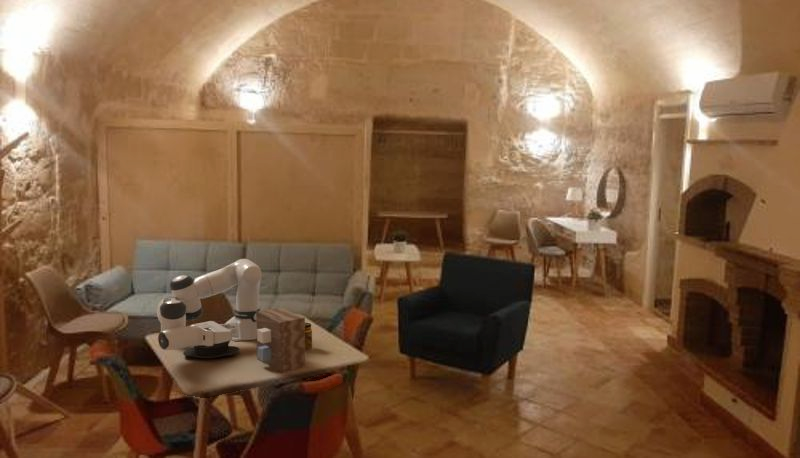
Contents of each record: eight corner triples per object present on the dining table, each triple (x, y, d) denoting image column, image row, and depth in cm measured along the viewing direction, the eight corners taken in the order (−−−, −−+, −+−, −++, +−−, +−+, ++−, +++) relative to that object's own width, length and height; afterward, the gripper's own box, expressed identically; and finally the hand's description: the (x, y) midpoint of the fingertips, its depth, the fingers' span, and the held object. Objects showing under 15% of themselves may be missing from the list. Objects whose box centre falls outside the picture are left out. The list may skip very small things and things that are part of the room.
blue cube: (263, 361, 271) (262, 350, 270) (257, 358, 274) (257, 347, 274) (273, 358, 274) (273, 347, 273) (268, 355, 278) (267, 345, 277)
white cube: (262, 343, 270) (262, 332, 269) (257, 340, 273) (257, 329, 273) (273, 341, 273) (272, 330, 272) (267, 338, 277) (267, 327, 276)
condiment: (315, 349, 299) (315, 324, 297) (298, 352, 294) (298, 327, 292) (308, 345, 305) (308, 321, 303) (292, 348, 300) (292, 323, 298)
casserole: (178, 362, 279) (177, 344, 277) (189, 349, 297) (188, 332, 296) (235, 361, 280) (234, 343, 279) (242, 348, 299) (242, 331, 298)
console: (280, 372, 267) (280, 322, 264) (257, 358, 284) (256, 311, 281) (305, 366, 275) (304, 317, 272) (280, 353, 291) (280, 307, 289)
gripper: (191, 335, 262) (223, 329, 271) (211, 347, 247) (243, 340, 255) (191, 320, 262) (222, 315, 270) (210, 332, 246) (243, 325, 255)
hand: (233, 327), depth 263 cm, fingers open, 5 cm apart
